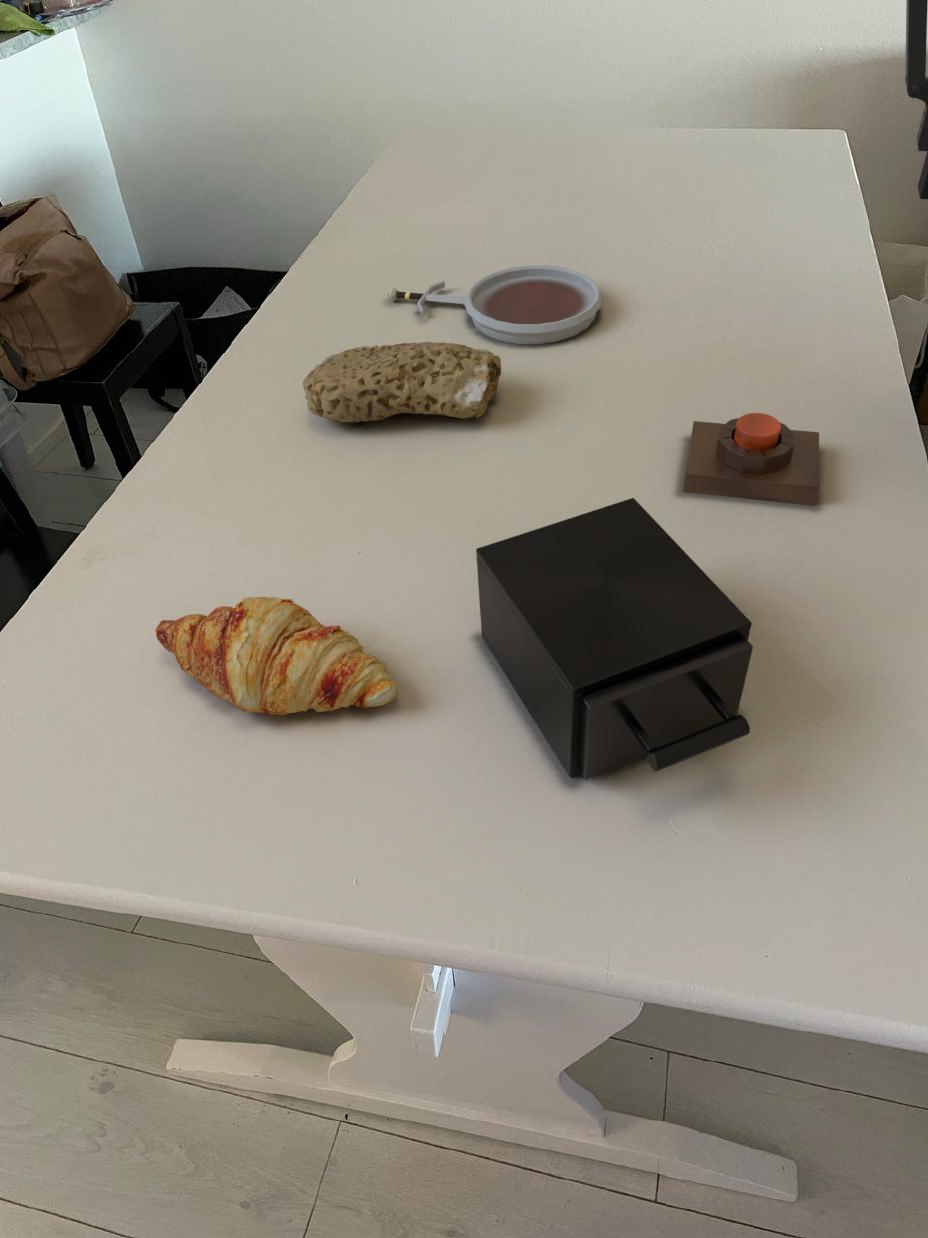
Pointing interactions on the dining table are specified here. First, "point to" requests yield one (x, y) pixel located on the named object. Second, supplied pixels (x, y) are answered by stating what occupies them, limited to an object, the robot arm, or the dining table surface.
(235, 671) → the croissant
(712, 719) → the open drawer with handle
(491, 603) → the black drawer unit
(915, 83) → the robot arm
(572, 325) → the frying pan
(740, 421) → the button
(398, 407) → the sponge
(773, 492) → the control block
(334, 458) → the dining table surface
